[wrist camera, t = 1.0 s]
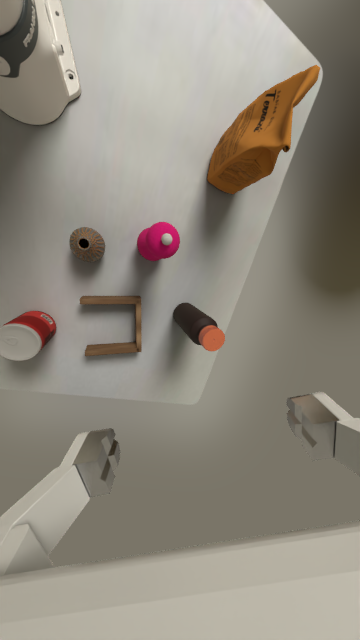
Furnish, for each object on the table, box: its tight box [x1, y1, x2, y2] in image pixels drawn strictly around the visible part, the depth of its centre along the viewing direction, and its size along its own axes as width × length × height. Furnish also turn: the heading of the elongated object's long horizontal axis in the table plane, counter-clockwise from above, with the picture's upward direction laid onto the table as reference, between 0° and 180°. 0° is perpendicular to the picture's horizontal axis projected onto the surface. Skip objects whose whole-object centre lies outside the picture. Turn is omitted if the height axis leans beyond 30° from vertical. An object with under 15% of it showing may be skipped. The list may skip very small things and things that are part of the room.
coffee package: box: [207, 65, 320, 194], centre depth 39 cm, size 10×12×22 cm
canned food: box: [0, 311, 56, 361], centre depth 42 cm, size 8×8×11 cm
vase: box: [70, 227, 105, 262], centre depth 42 cm, size 7×7×9 cm
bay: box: [80, 296, 141, 356], centre depth 50 cm, size 14×14×4 cm
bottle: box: [174, 303, 225, 351], centre depth 48 cm, size 7×7×20 cm
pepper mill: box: [137, 222, 180, 261], centre depth 40 cm, size 7×7×20 cm
